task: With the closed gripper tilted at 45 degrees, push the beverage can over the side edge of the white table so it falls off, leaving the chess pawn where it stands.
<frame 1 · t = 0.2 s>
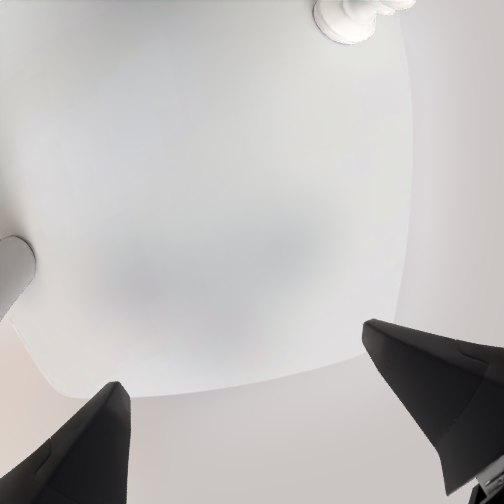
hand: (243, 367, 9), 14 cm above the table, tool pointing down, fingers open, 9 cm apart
chess pawn: (339, 20, 17), on the table
beverage can: (19, 257, 20), on the table
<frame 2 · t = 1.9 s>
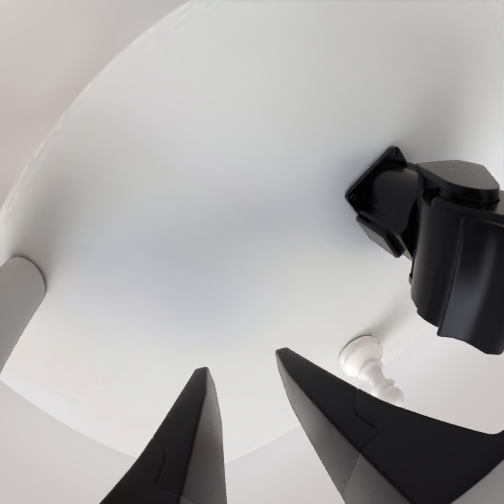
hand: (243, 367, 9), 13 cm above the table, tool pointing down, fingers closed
chess pawn: (357, 350, 30), on the table
beverage can: (27, 277, 19), on the table
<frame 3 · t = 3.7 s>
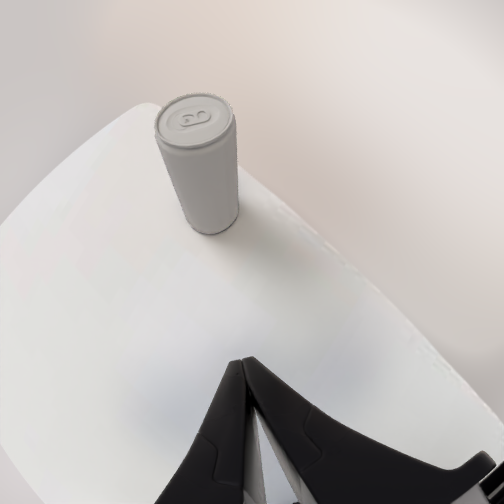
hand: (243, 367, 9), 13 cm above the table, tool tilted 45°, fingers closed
beverage can: (212, 213, 26), on the table
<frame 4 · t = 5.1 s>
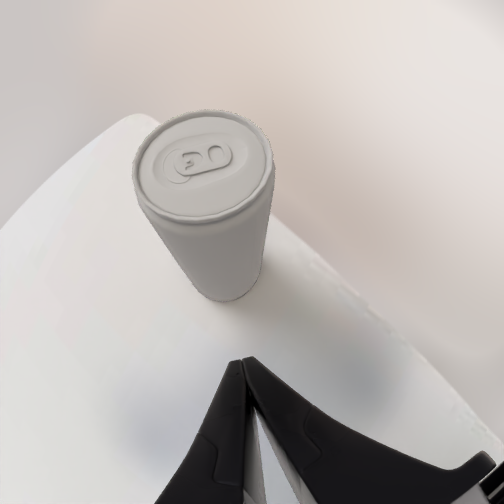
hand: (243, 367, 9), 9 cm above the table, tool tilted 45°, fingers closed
beverage can: (224, 269, 20), on the table
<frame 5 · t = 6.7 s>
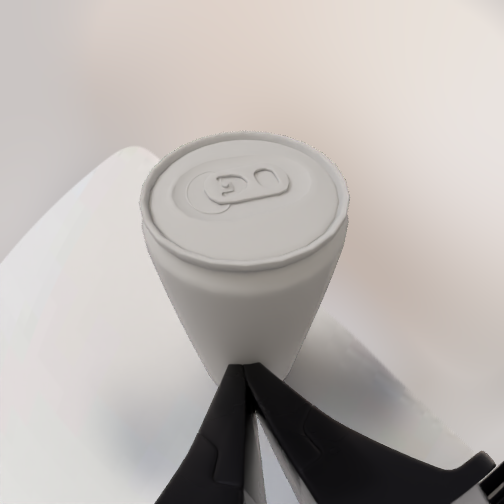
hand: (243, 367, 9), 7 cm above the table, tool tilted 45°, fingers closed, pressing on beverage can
beverage can: (249, 359, 16), point 1 cm above the table, touching gripper
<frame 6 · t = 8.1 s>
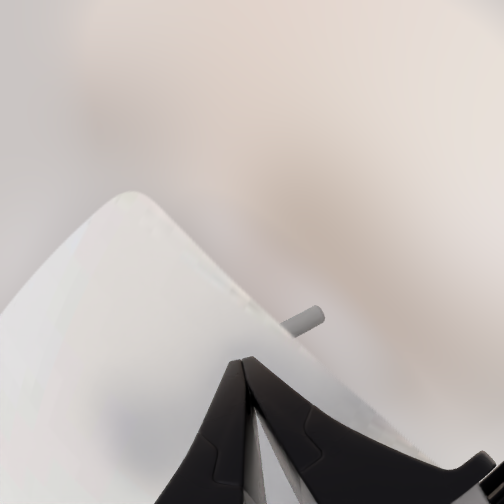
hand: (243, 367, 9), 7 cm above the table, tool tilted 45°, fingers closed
beverage can: (321, 312, 68), on the floor
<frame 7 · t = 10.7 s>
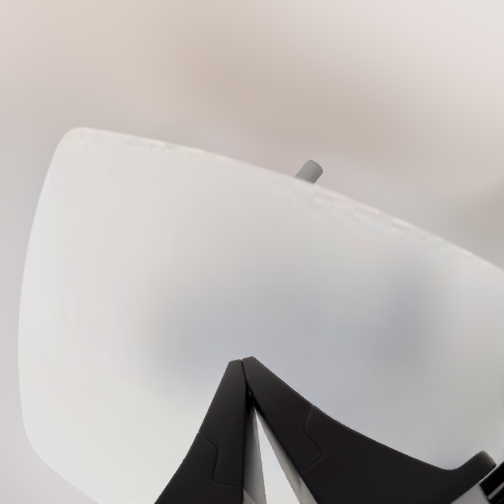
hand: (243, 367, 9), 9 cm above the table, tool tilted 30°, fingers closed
beverage can: (316, 164, 68), on the floor
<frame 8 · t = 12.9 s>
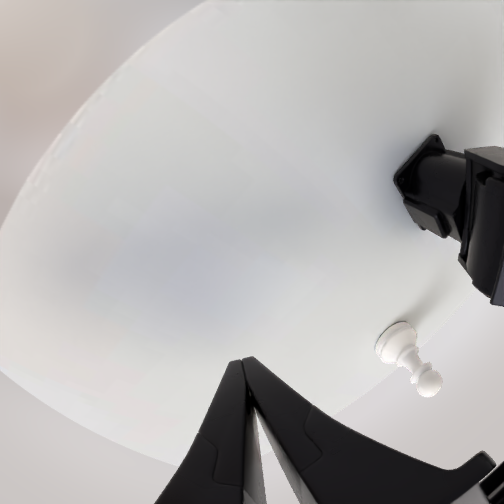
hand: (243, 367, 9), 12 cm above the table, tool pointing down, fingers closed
chess pawn: (392, 337, 29), on the table
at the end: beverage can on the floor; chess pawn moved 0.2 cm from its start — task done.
